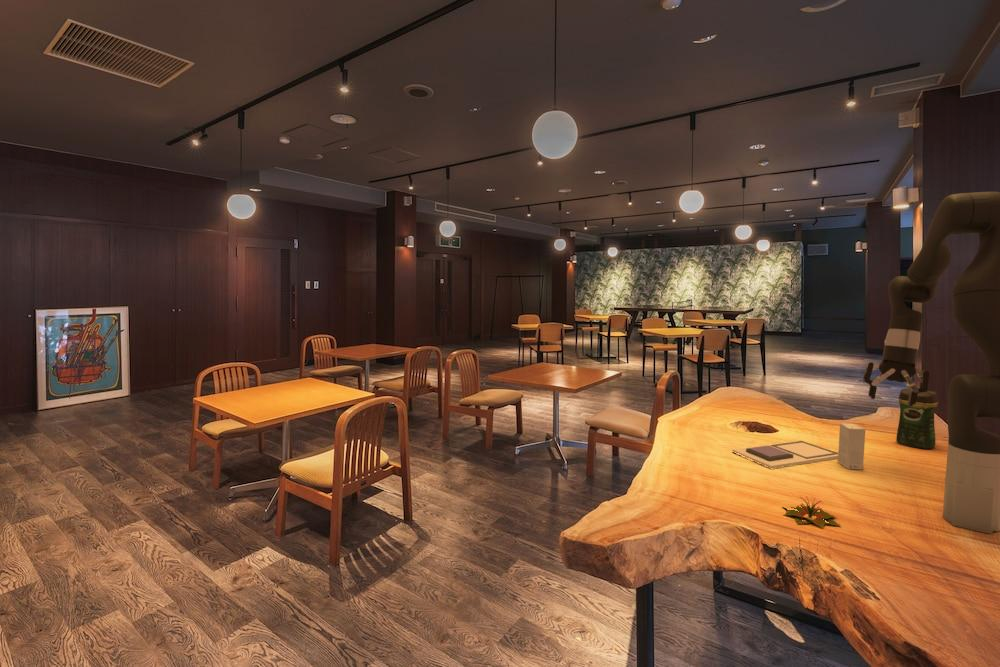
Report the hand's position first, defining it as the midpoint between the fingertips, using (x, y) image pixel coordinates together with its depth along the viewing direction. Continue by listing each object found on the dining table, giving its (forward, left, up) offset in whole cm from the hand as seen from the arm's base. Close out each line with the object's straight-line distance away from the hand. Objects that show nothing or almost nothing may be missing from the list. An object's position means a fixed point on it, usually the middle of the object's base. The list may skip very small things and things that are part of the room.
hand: (890, 402), depth 139 cm
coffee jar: (+31, -5, -20) cm, 37 cm away
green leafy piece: (-49, +10, -20) cm, 53 cm away
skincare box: (-5, +8, -20) cm, 22 cm away
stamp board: (-7, +24, -19) cm, 32 cm away
